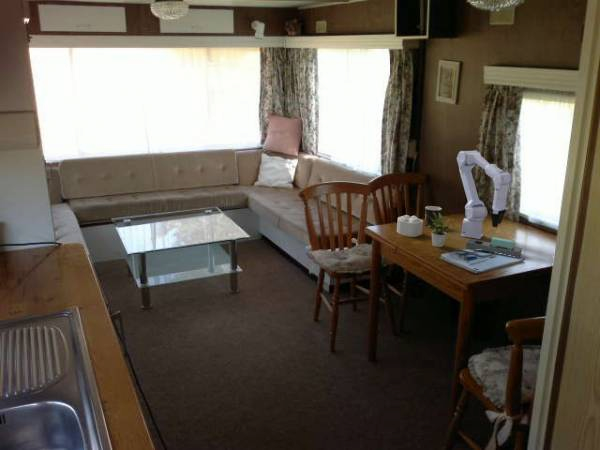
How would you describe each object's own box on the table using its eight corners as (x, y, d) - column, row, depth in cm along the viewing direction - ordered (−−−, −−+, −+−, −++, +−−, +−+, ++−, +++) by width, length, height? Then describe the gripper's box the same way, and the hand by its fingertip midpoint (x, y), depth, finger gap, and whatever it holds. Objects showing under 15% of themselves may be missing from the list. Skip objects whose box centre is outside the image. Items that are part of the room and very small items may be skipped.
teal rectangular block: (490, 249, 258) (491, 238, 256) (491, 248, 260) (492, 237, 259) (512, 253, 253) (513, 242, 252) (513, 252, 255) (515, 241, 254)
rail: (465, 248, 262) (466, 242, 261) (469, 245, 267) (469, 239, 266) (518, 258, 250) (519, 251, 250) (521, 254, 255) (522, 248, 255)
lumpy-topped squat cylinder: (412, 237, 277) (413, 221, 274) (391, 231, 286) (393, 215, 283) (424, 234, 283) (425, 217, 281) (404, 228, 293) (405, 212, 290)
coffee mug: (427, 222, 303) (428, 205, 300) (442, 225, 298) (444, 207, 296) (418, 227, 294) (420, 209, 291) (433, 230, 289) (435, 212, 286)
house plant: (415, 241, 270) (417, 209, 266) (438, 238, 275) (441, 207, 271) (432, 250, 258) (435, 217, 253) (456, 247, 263) (459, 214, 258)
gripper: (505, 202, 254) (502, 230, 258) (511, 196, 266) (508, 223, 270) (490, 199, 258) (486, 227, 262) (496, 194, 270) (493, 220, 274)
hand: (496, 225), depth 266 cm, fingers open, 7 cm apart
